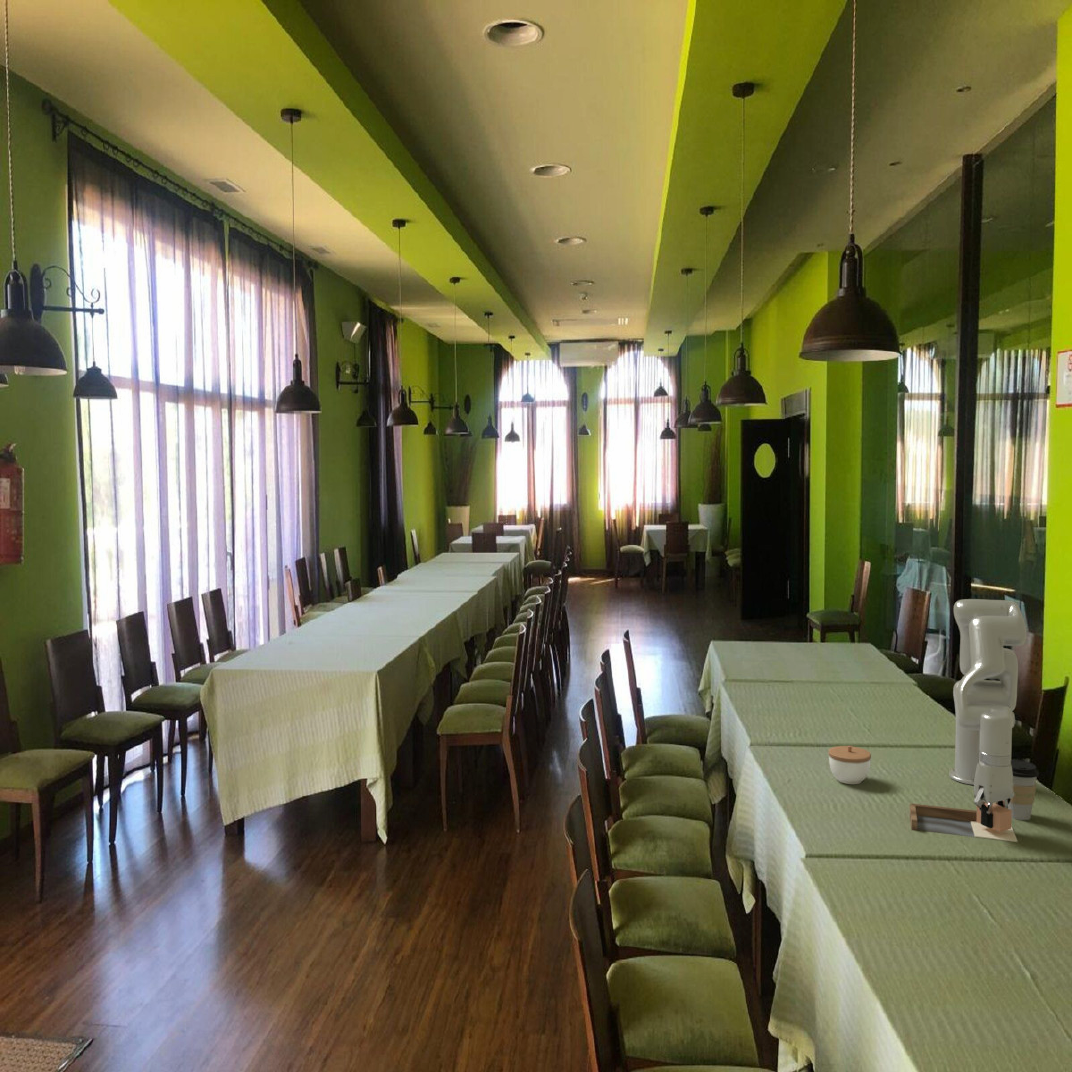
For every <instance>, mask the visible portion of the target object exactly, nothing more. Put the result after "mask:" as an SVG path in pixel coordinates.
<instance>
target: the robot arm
mask: <svg viewBox="0 0 1072 1072" xmlns="http://www.w3.org/2000/svg"><path fill="white" fill-rule="evenodd" d="M953 616H954V619H955V623H956V624H957V626H958V630H959V635H960V644H959V670H960V672H961V673H962V675H963V676H962V678H961V679H960V680H958V681H956V682H955V684H954V685H953V691H952V694H953V695H952V696H953V701H954V709H955V710H954V711H955V744H954V745H955V747H954V749H955V751H954V768H953V769H950V770H949V771H948V772H949V778H951V779H952V780H953V781H955V782H958V783H962V784H966V785H972V786H973V797H974V800H973V804H974V805H976V807H977V806H978V807H979V810H980V811H981V824H982V825H983V826H986V827H988V828H993V814H992V813H991V812H992V806H993V803H994V804H997V805H999V806H1002V807H1005V808H1007V809H1008V804H1009V803H1010V801H1011V799H1012V798H1013V796H1014V792H1013V773H1012V766H1011V760H1012V738H1013V737H1012V736H1013V728H1014V727H1015V723H1016V718H1015V713H1014V712H1013V711H1014V710H1015V708H1016V707H1017V698H1018V681H1019V680H1018V677H1019V663H1018V656H1017V655H1016V652H1015V651H1014V650H1013V649H1009V648H1007V647H1021V646H1023V645H1024V644H1025V642H1026V641H1027V626H1026V622H1025V621H1026V620H1025V619H1024V616H1023V614H1022V610H1021V608H1020V606H1019V604H1018V603H1017V602H1015V601H1013V600H1008V599H1007V600H1005V599H1002V600H1001V599H982V598H980V599H979V598H977V599H976V598H968V599H967V598H965V599H958V600H957V601H956V602H955V603H954V605H953ZM1005 646H1006V648H1005ZM987 679H988V680H987ZM989 679H990V680H989ZM991 679H995V680H991ZM985 803H987V804H988V807H987V806H986V805H985Z"/></svg>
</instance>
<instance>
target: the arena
mask: <svg viewBox="0 0 1072 1072" xmlns="http://www.w3.org/2000/svg"><path fill="white" fill-rule="evenodd" d="M976 820H977V810H972V809H965V808H956V807H945V806H936V805H929V804H919V803H911V804H909V821H910V828H911V830H912V831H922V832H930V833H937V834H945V835H954V836H962V837H972V838H976V837H975V836H974V832H973V829H972V825H971V821H974V822H976ZM1013 831H1014V832H1015V830H1014V829H1013ZM1015 836H1016V834H1015ZM977 838H979V837H977ZM979 839H980V838H979ZM985 839H987V838H985ZM1016 839H1017V842H1016V843H1019V840H1018V838H1017V836H1016ZM987 840H988V839H987ZM993 840H995V841H997V840H996V839H993ZM1001 841H1002V842H1003V841H1004V840H1001ZM1004 842H1005V841H1004ZM1010 842H1012V841H1010ZM1012 843H1013V842H1012Z"/></svg>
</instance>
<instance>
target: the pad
mask: <svg viewBox="0 0 1072 1072" xmlns="http://www.w3.org/2000/svg"><path fill="white" fill-rule="evenodd" d="M971 825H972V829H973V832H974V836H975V837H974V838H978V837H979V839H986V838H987V840H988V839H989V840H994V839H996V840H995V841H1002V840H1004V842H1011V841H1012V843H1018V842H1017V840H1018V838H1017V836H1015V835H1016V833H1015V830H1014V828H1013V826H1012V825H1011V829H1008V830H1004V831H1000V832H999V831H997V830H994V829H992V828H988V827H986V826H983V825H982V824H980V823H978V822H974V821H971ZM1013 830H1014V831H1013ZM1016 838H1017V839H1016Z"/></svg>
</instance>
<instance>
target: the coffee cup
mask: <svg viewBox="0 0 1072 1072" xmlns="http://www.w3.org/2000/svg"><path fill="white" fill-rule="evenodd" d="M1011 766H1012V773H1013V792H1014V796H1013V798H1012V799H1011V801H1010V803H1009V804H1008V809H1010V810H1012V820H1013V819H1014V820H1019V821H1027V820H1028V821H1029V820H1031V816H1032V811H1033V804H1034V801H1035V794H1036V789H1037V788H1036V787H1037V777H1039V776H1040V772H1039V770H1038V769H1037V766H1036V765H1035V764H1034V763H1032V762H1029V761H1025V760H1024V761H1023V760H1018V759H1011Z"/></svg>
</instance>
